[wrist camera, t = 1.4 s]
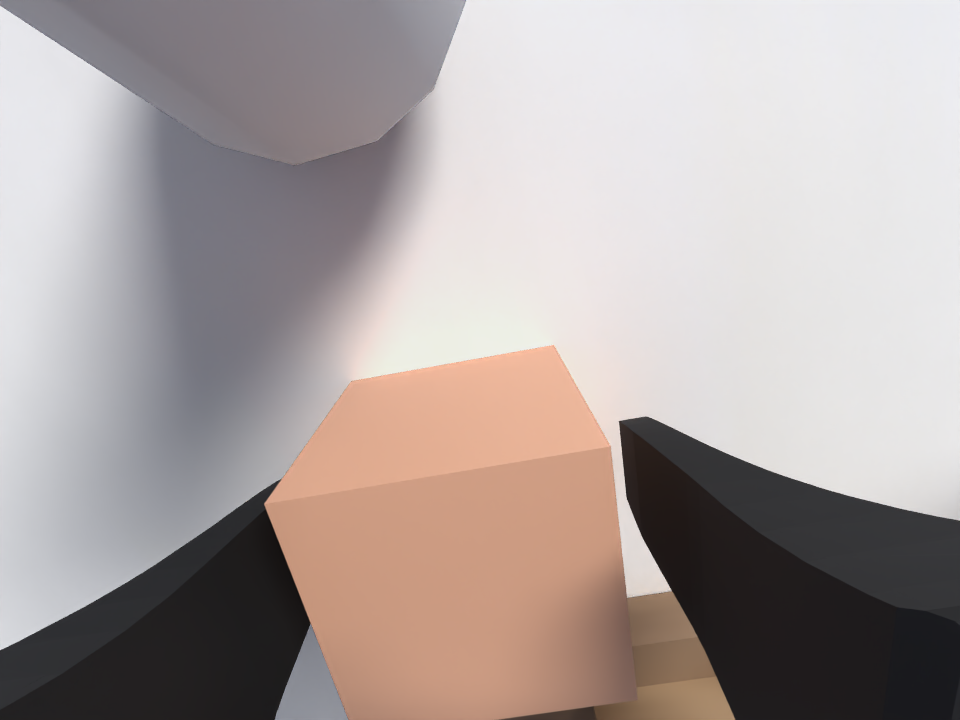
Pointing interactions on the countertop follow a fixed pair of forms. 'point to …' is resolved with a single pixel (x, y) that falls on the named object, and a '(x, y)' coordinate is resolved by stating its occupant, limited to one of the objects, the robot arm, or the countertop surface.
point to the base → (661, 670)
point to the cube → (461, 544)
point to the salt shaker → (263, 63)
